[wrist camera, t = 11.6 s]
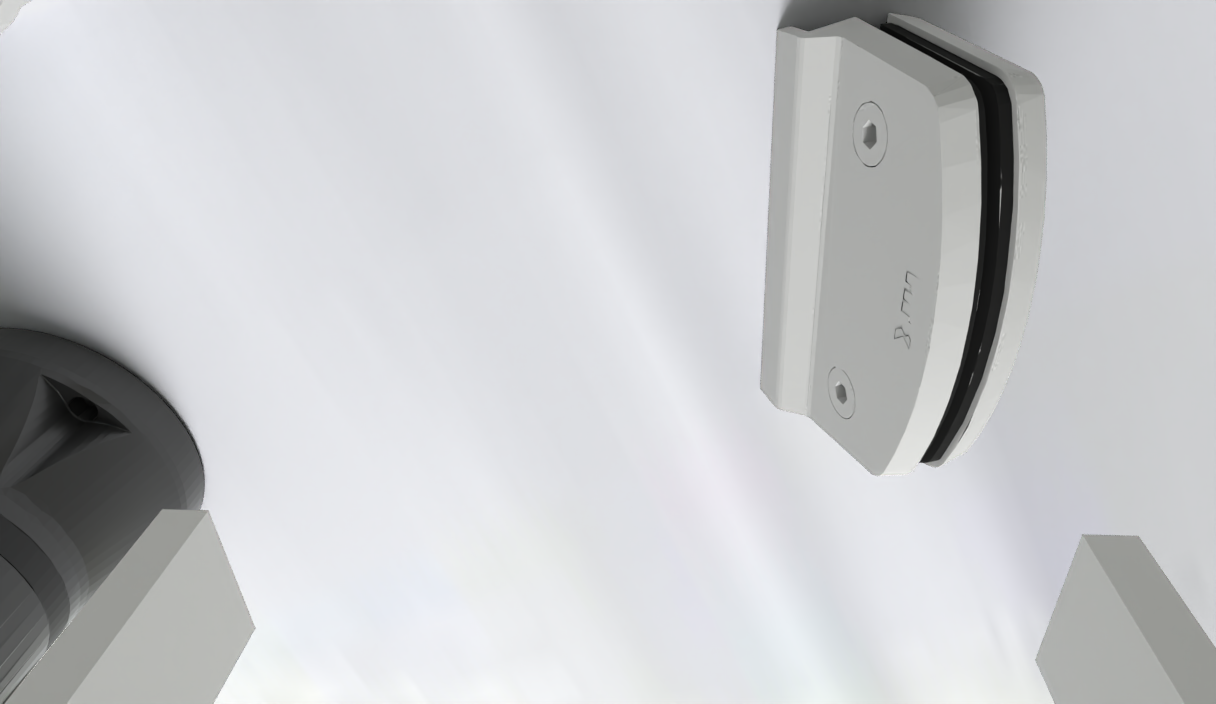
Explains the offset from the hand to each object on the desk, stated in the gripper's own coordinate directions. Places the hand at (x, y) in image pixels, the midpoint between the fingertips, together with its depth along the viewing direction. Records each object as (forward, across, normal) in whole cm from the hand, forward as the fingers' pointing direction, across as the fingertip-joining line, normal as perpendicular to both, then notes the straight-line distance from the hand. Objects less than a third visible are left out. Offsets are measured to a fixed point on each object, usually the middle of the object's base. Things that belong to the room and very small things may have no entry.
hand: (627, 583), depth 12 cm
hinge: (+23, -8, +4) cm, 25 cm away
